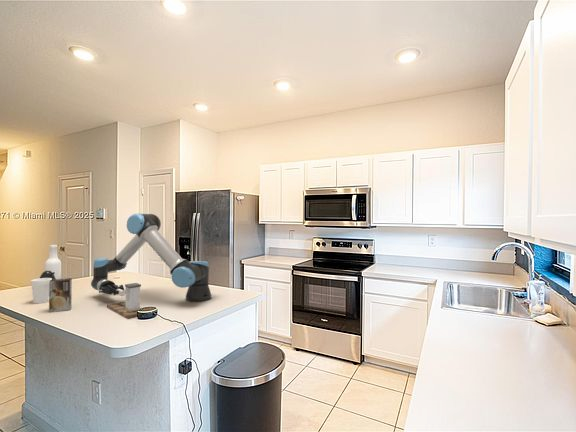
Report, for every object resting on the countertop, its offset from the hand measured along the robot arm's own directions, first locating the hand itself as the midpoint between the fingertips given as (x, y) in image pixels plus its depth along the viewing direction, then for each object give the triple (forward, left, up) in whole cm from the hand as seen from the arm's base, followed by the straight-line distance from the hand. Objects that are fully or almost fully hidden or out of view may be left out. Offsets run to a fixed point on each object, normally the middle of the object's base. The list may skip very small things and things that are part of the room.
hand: (122, 293), depth 164 cm
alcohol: (+62, -52, -8) cm, 81 cm away
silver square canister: (-8, +9, -6) cm, 14 cm away
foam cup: (+50, -19, -8) cm, 54 cm away
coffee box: (+31, -2, -8) cm, 32 cm away
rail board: (-4, +4, -8) cm, 10 cm away
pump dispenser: (+57, -37, -8) cm, 69 cm away
